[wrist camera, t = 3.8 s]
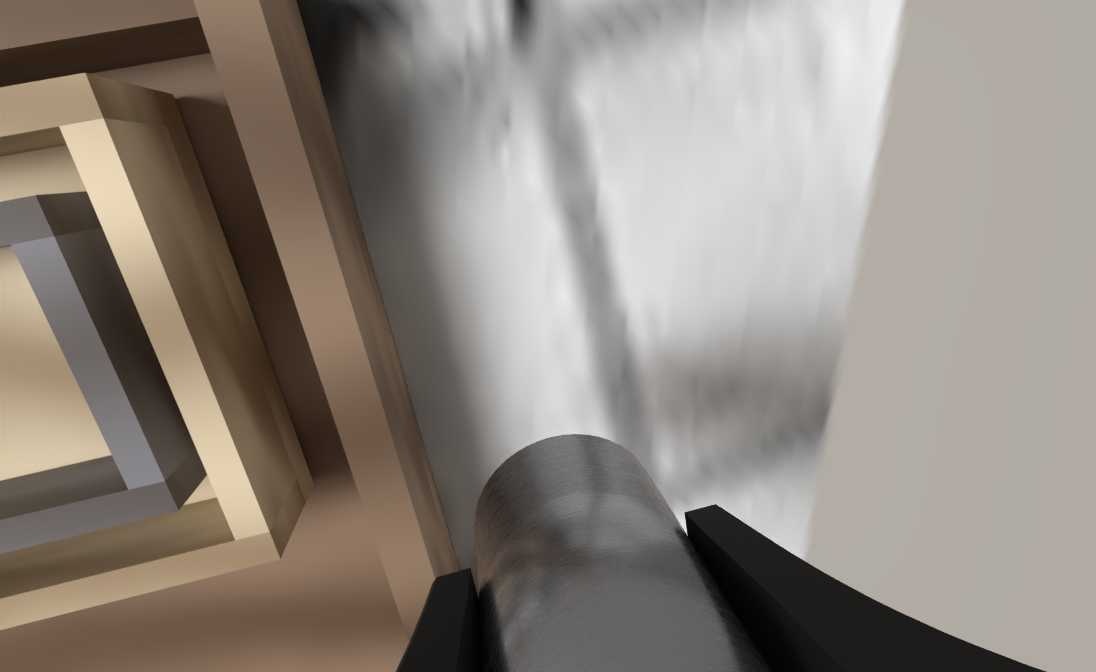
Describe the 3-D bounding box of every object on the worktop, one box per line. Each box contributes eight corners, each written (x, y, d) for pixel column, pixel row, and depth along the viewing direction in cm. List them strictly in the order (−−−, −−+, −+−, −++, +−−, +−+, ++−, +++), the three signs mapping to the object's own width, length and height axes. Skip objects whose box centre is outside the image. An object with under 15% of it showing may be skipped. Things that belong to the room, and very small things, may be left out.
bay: (482, 650, 22) (488, 753, 18) (-134, 819, 20) (-273, 975, 16) (294, -6, 15) (239, -64, 11) (-670, 155, 13) (-1134, 152, 9)
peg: (667, 569, 13) (824, 872, 8) (496, 615, 13) (528, 968, 7) (644, 414, 12) (811, 637, 6) (455, 460, 12) (455, 739, 6)
